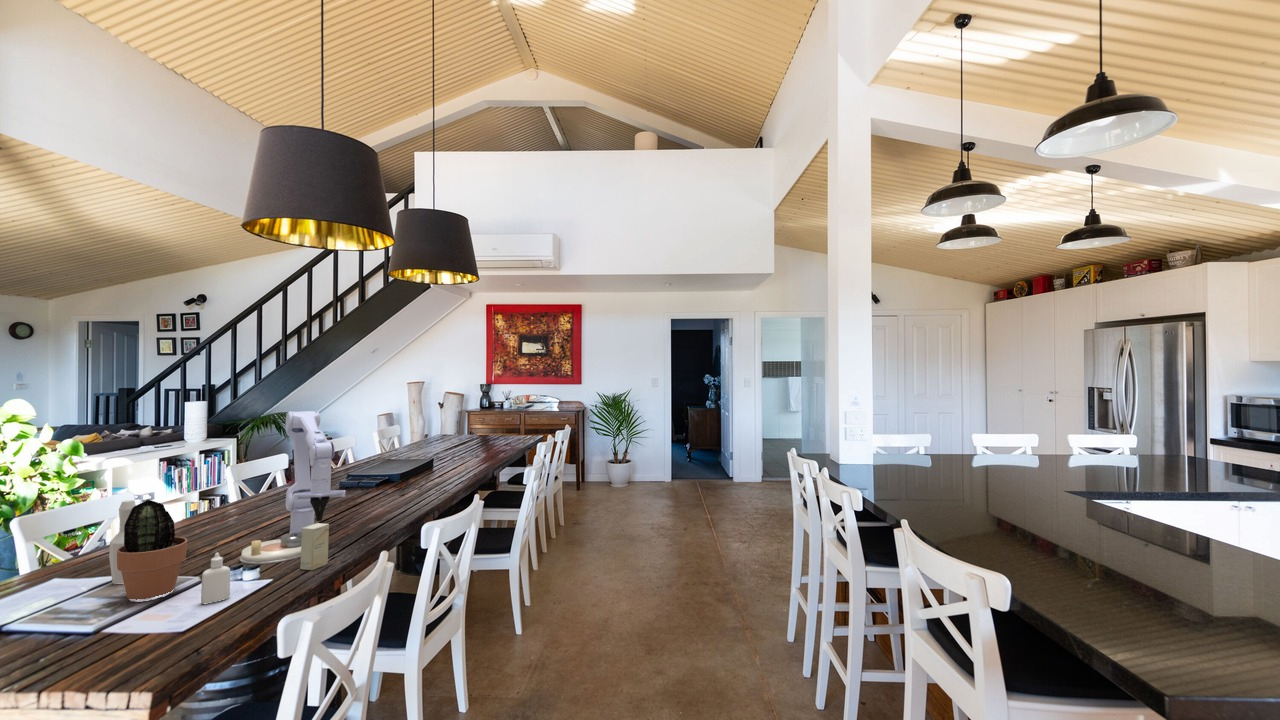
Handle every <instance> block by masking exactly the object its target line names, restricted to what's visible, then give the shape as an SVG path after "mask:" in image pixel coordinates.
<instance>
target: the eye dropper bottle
mask: <svg viewBox="0 0 1280 720" xmlns="http://www.w3.org/2000/svg"><path fill="white" fill-rule="evenodd" d="M223 562H224V557H223V556H220V553H219V552H215V554H214V557H212V558H211V559H210V568H208V569H206V570H204V571H203V572H202V575H201V589H200V590H201V592H200V593H201V596H200V602H201V604H203V603H209V602H215V601H219V600H223V599H226V600H228V599H230V594H231V593H230V591H231V569H230V567H229V566H225V565H224V563H223ZM227 598H228V599H227ZM223 601H224V600H223Z"/></svg>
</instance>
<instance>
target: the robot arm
mask: <svg viewBox="0 0 1280 720" xmlns="http://www.w3.org/2000/svg"><path fill="white" fill-rule="evenodd" d="M320 423H321V414H320V412H319V411H318V410H308V411H306V410H305V411H291V410H290V411H288V412H287V413H286V417H285V432H286V436H288V437H290V438H291V440H292V444H293V445H292V446H293V447H292V449H293V464H294V465H293V467H294V483H293V484H292V485H291V486H289V487H288V489H287V490H286V492H285V508H286V510H287V511H288V512H290V522H289V523H290V526H289V527H290V528H289V533H296V532H302V528H304V527H307V526H310V525H313V524H315V517H316V522H322V521H323V516H324V512H325V509H326V507H327V505H328V503H329V502H330V499H331V498H345V497H346V492H347V491H346V490H345V489H338V490H337V489H336V490H335V489H331V483H332V482H331V481H332V480H331V479H332V460H333V458H334V457H335V444H334V442H333V441H332V440H328V439H327V436H326V434H325V433H324V431H323V430H320V429H319V426H320ZM310 467H311V468H310Z"/></svg>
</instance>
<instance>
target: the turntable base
mask: <svg viewBox="0 0 1280 720" xmlns="http://www.w3.org/2000/svg"><path fill="white" fill-rule="evenodd" d="M299 558H301V554H300V555H297V556H294V557H291V558H286V559H281V560H275V561H265V562H252V561H246V560H243V559H242V554H241V555H240V556H239V559H238V560H239V561H240V562H241V563H244V564H247V565H268V564H270V565H271V564H276V563H283V562H287V561H292V560H295V559H299Z"/></svg>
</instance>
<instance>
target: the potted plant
mask: <svg viewBox="0 0 1280 720" xmlns="http://www.w3.org/2000/svg"><path fill="white" fill-rule="evenodd" d="M175 529H176V528H175V521H174V520H173V518H172V515H170V512H169V511H167V510H166V507H165V506H164V504H163V503H161V502H158V501H154V500H151V499H146V500H144V501H143V502H141V503H139V504H136V506H134V507H133V508H132V510H131V512H130V514H129V516H128V519H127V521H126V523H125V525H124V545H123V546H121V547H119V548H118V549H117V569H118V570H119V571H121V573H122V577H123V582H124V584H123V585H124V589H125V590H124V591H125V594H126V598H128V599H136V600H137V599H146V598H151V597H155V596H159V595H163V594H166V593H168V592H171V591H172V590H173V589H174V590H175V587H176V583H177V580H178V576H179V573H180V569H181V565H182V562H183V561H185V560H186V558H187V549H188V548H187V547H188V539H187V538H186V537H182V536H176V531H175ZM128 599H127V600H128Z"/></svg>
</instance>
